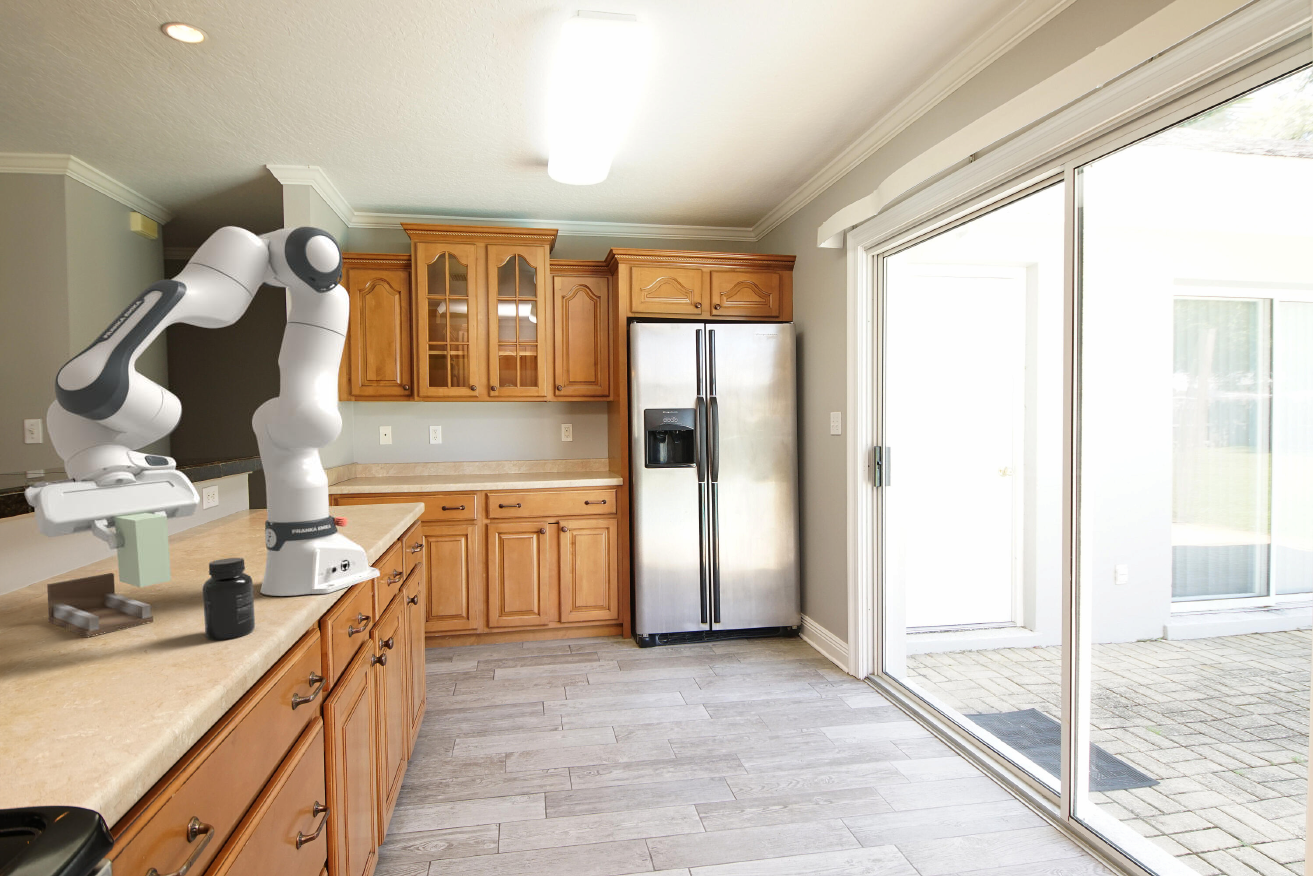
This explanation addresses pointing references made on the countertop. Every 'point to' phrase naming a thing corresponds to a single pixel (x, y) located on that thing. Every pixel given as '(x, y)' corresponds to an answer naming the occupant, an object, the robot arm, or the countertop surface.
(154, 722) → the countertop surface
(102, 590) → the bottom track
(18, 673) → the countertop surface
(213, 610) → the supplement bottle
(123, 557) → the pale green block
